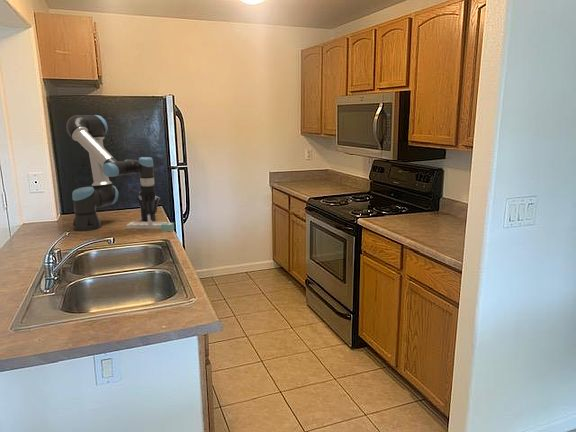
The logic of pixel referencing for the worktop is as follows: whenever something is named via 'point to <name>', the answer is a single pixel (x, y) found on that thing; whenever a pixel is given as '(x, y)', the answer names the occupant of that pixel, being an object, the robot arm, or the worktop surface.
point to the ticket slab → (144, 225)
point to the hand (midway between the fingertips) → (150, 225)
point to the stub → (167, 226)
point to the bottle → (143, 216)
